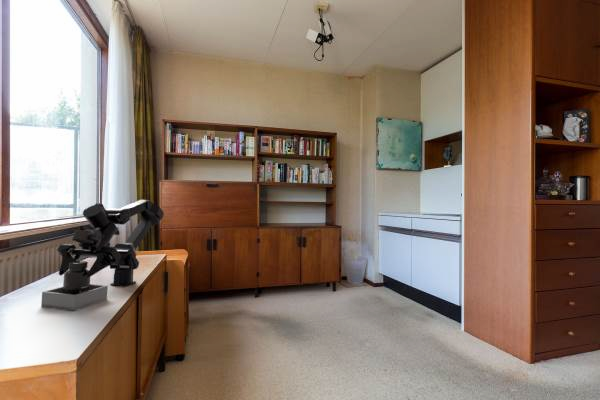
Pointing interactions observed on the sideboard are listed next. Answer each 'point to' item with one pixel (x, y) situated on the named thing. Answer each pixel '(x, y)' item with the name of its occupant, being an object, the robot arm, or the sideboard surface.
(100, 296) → the open box
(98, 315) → the sideboard surface
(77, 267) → the supplement bottle
